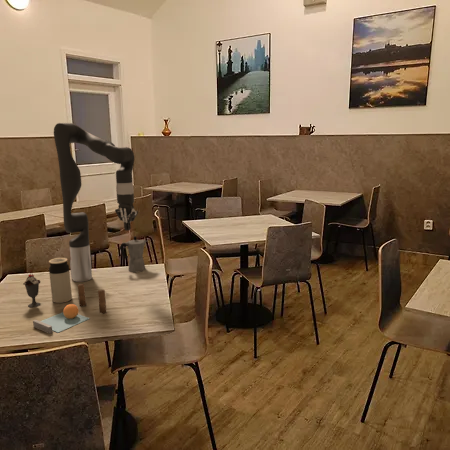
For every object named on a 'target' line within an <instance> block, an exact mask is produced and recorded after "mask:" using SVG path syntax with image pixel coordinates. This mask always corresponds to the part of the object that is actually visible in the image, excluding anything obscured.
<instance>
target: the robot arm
mask: <svg viewBox="0 0 450 450" xmlns="http://www.w3.org/2000/svg"><path fill="white" fill-rule="evenodd" d="M53 137H54V138H53V139H54V143H55V148H56V153H57V159H58V160H57V161H58V167H59V168H58V169H59V180H60V188H61V195H62V196H61V197H62V208H63V209H62V210H63V228H64V230H65V233H67V234H74V233H79V234H78V235H76V236H74V237H73V238H70V239H69V243H68V245H69V255H70V260H69V268H70V279H72V281H73V282H77V283H80V282H81V283H83V282H87V281H90V280H92V279H93V273H92V259H91V248H90V234H89V233H90V232H89V231H90V230H89V226H90V225H89V217H88V214H87V213H86V212H83V211H81V212H72V209H73V204H74V202H75V200H76V198H77V196H78V194H79V192H80V190H81V188H82V174H81V170H80V168H79V166H78V164H77V163H76V161H75V159H74V157H73V155H72V152H71V144H73V143H74V144H75V143H77V144H81V145H83V146H85V147H88V148H89V150H90V151H92V152H94V154H95V153H96V154H97V155H100V156H103V157H105V158H106V159H107V160H109V161H111V162H112V163H113V164H118V165H120V167H119V169H117V170H116V171H115V181H116V182H115V183H116V184H115V185H116V186H115V187H116V188H115V190H116V203H117V204H118V207H117V208H116V209H114V211H115V213H116V216H117V217H118V219H119V220H120V221H122V223H123V229H124V231H127V232H128V231H131V229H132V226H131V222H134V221H135V219H136V218H137V216H138V213H139V211H138V210H136V209H135V207H134V203H135V191H134V183H133V171H134V170H133V169H134V164H135V153H134V150H133V149H131V148H130V147H127V146H125V147H124V146H123V147H118V146H116V145H115V144H114V143H113V142H111V141H109V140H107V139H104V138H101V137H99V136H97V135H94V134H92V133H90V132H89V131H87V130H85V129H83V128H82V127H81V126H79V125H77V124H75V123H73V122H57V123H56V124H55V125H54V128H53Z"/></svg>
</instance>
